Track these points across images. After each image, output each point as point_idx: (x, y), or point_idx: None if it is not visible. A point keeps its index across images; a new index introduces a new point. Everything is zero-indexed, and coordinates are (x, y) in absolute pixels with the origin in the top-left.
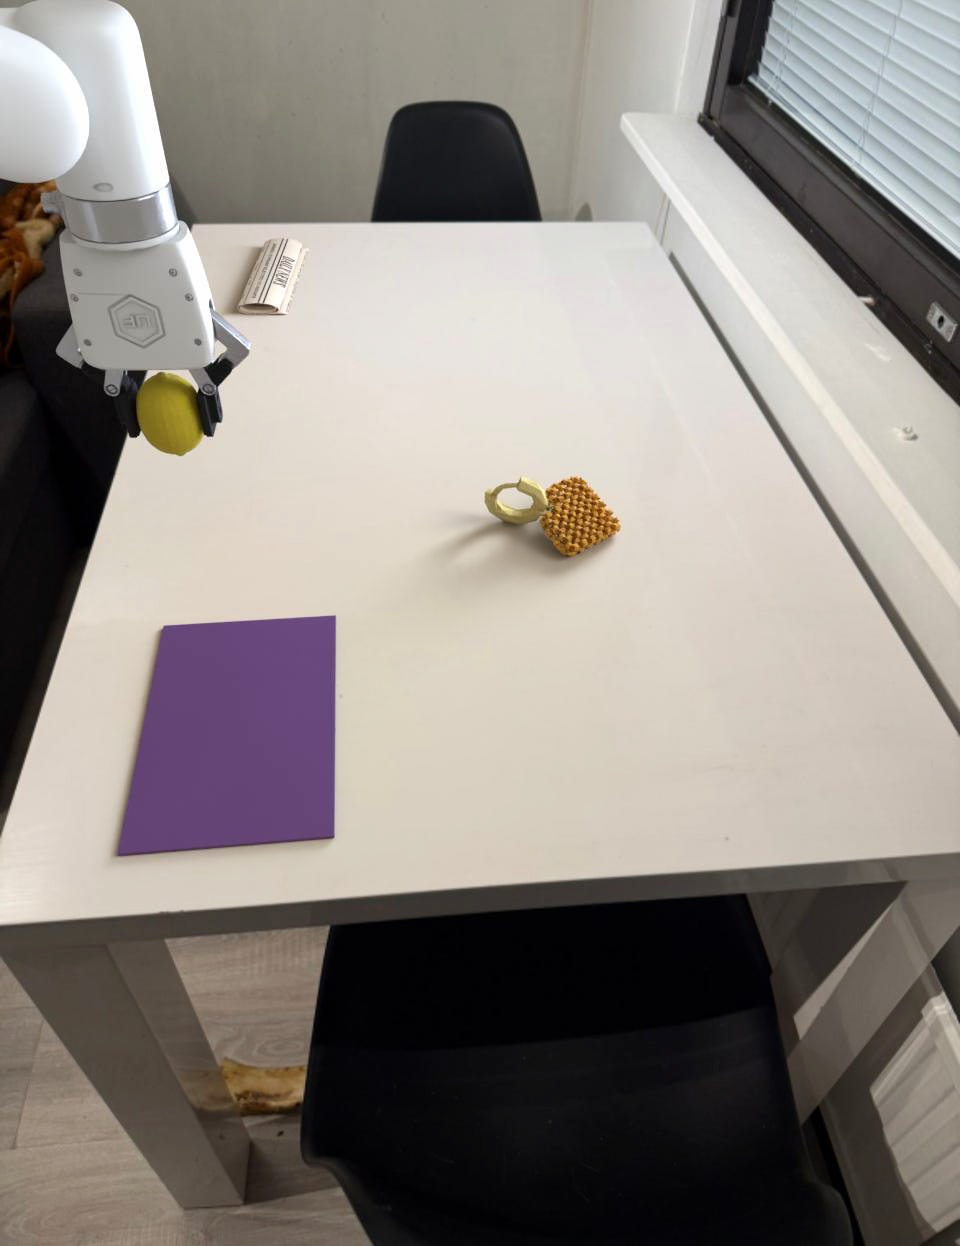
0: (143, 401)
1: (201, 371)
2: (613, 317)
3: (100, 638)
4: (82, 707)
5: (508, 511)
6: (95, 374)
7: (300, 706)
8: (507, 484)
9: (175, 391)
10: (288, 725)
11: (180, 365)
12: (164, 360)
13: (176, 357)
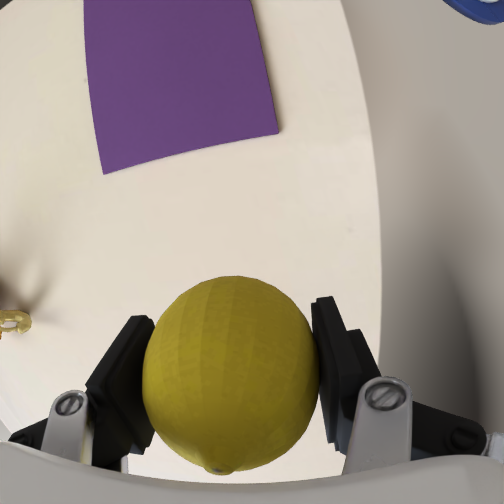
0: (274, 374)
1: (50, 447)
2: None
3: (342, 115)
4: (322, 29)
5: (21, 319)
6: (441, 430)
7: (113, 56)
8: (1, 329)
9: (164, 409)
10: (119, 35)
11: (23, 462)
12: (60, 502)
13: (13, 493)
